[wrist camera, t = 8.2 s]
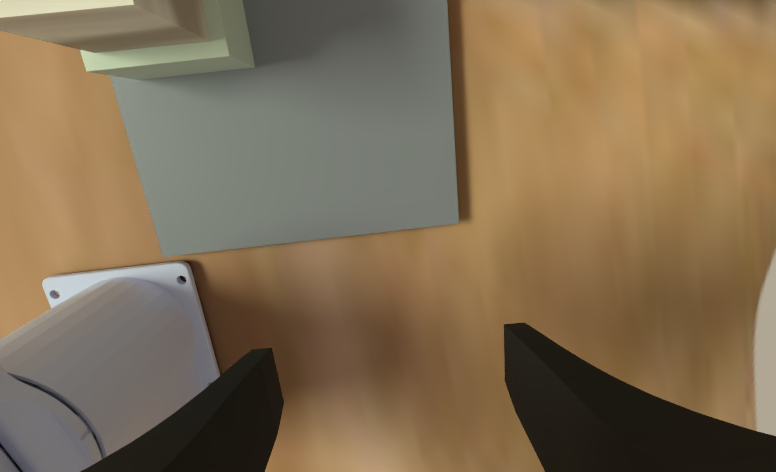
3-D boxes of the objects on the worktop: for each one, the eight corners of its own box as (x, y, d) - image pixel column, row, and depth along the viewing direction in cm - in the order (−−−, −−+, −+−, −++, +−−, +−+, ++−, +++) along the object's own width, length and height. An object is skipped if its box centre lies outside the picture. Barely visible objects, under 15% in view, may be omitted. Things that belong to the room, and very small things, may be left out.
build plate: (456, 220, 22) (459, 223, 21) (168, 253, 21) (163, 257, 21) (438, -106, 17) (441, -114, 17) (75, -68, 17) (65, -75, 16)
